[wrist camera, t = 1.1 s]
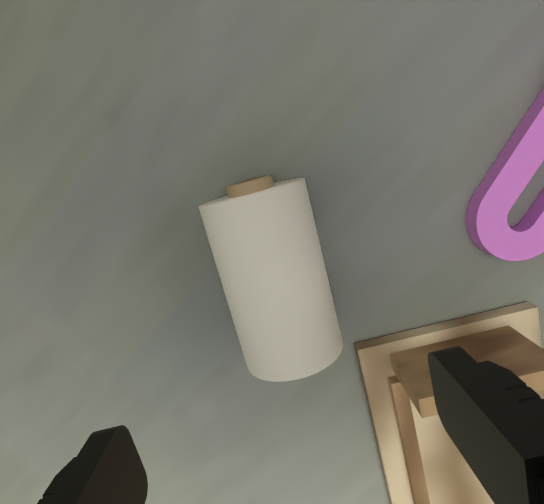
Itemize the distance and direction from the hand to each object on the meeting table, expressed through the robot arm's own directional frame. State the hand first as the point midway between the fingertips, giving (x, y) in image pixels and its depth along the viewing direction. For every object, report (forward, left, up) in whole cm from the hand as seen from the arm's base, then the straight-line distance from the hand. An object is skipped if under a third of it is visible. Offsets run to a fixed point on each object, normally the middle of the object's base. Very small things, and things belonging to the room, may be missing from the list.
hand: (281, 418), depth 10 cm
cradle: (-10, +16, -16) cm, 24 cm away
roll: (0, 0, -16) cm, 16 cm away
